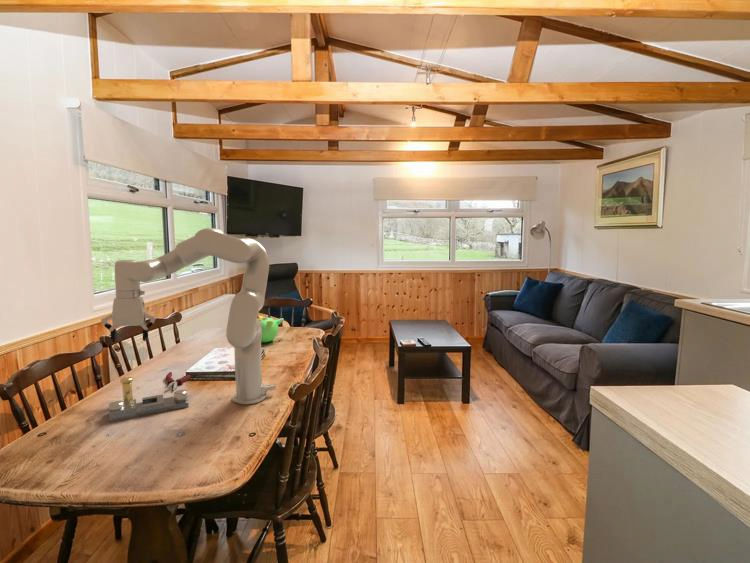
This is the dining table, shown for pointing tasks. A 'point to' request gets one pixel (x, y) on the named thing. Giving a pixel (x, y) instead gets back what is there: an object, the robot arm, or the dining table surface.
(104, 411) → the dining table surface
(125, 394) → the brass pin
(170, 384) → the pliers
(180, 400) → the grey notched rail
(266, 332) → the green teapot
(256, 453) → the dining table surface
